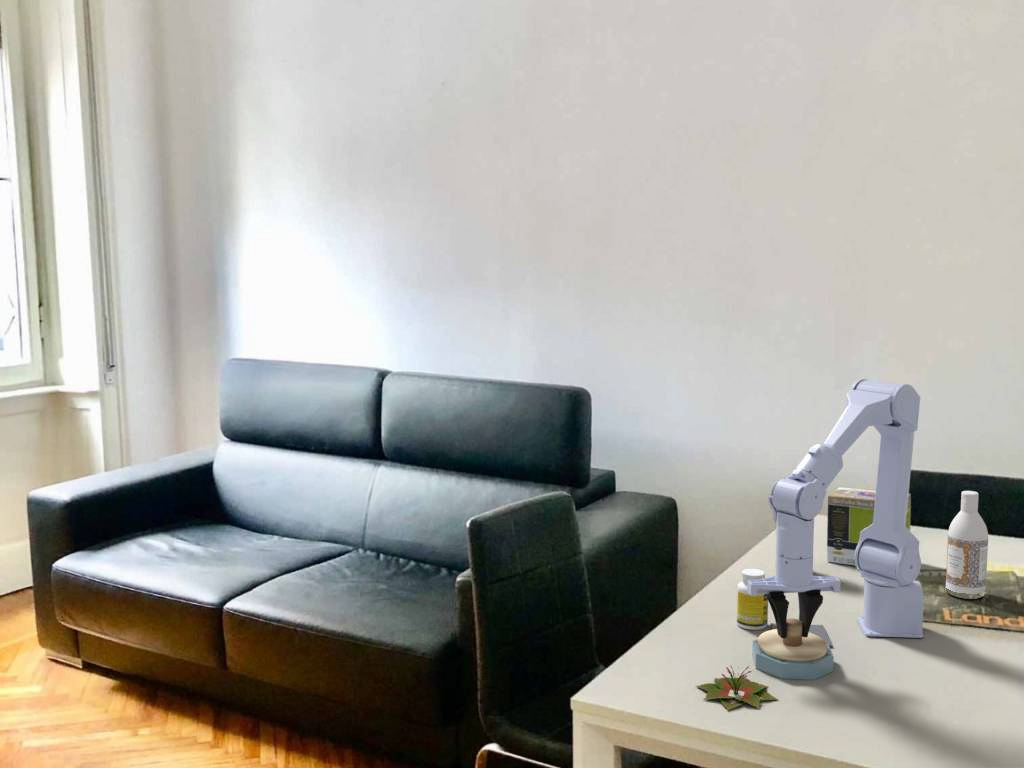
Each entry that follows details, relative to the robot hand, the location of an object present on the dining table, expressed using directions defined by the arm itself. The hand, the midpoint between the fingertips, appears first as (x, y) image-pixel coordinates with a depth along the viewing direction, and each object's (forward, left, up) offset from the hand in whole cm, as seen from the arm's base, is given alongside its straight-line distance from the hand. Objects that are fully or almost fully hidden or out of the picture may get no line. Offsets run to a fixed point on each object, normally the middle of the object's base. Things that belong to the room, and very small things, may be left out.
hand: (792, 635), depth 162 cm
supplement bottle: (+5, -16, -5) cm, 17 cm away
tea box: (-23, -54, -5) cm, 59 cm away
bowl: (0, 0, -5) cm, 5 cm away
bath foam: (-37, -35, -5) cm, 51 cm away
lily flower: (+10, +12, -5) cm, 16 cm away
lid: (0, 0, -2) cm, 2 cm away
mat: (-3, -11, -5) cm, 13 cm away
